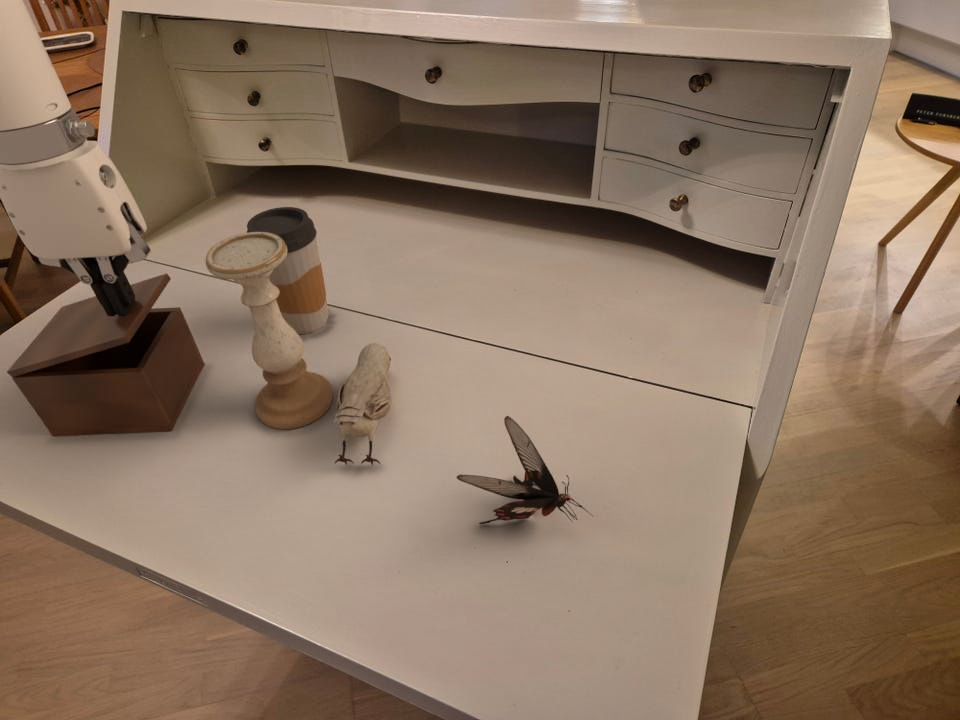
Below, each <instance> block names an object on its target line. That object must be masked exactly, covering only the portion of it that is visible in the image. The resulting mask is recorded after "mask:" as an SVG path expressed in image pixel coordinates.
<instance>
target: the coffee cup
mask: <svg viewBox="0 0 960 720" xmlns="http://www.w3.org/2000/svg"><path fill="white" fill-rule="evenodd" d="M248 232H268V233H273V234H275V235H278V236H279V237H281V238H282V239H283V240H284V242H285V244H286V245H287V250H288V251H287V256H286V258H285V260H284V261H283V262H282V263H281V264H280V265H279V266H277V267H276V268H274V269H273V271H272V273H271V274H270V282H271V283H272V284H274V285H275V286H276V287H278V289H279V291H280V293H279V296H278V298H277V299H276V300H277V304H278V306H279V309H280V312H281V314H282V316H283V318H284V320H285V321H286V322H287V323H288V324H289V325H290V326H291V327H292V328H293V329H294V330H295V331H296V332H297V333H298V335H305V334H310V333H313V332H316V331H318V330H320V329H321V328H323V327H324V326H325V325H326V324H327V322H328V317H329V315H330V312H329V311H330V310H329V307H328V300H327V291H326V284H325V279H324V273H323V266H322V262H321V259H320V253H319V246H318V241H317V232H318V231H317V229H316V227H315V223H314V221H313V219H312V218H311V217H309V214H308V212H307V211H305V210H304V209H302V208H299V207H294V206H281V207H274V208H270V209H266V210H263V211H260V212H259V213H256V214H255V215H254V216H252V217H251V218H249V220H248V221H247V223H246V233H248Z"/></svg>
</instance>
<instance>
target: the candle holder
mask: <svg viewBox="0 0 960 720" xmlns="http://www.w3.org/2000/svg"><path fill="white" fill-rule="evenodd" d="M287 251H288V250H287V245H286V244H285V242H284V240H283V239H282V238H281V237H279V236H278V235H275V234H273V233H268V232H248V233H247V232H243V233H238V234H235V235H231V236H230V237H227V238H224V239H223V240H220V241H218V242H217V243H216V244H214V245H213V246H212V247H211V248H210V249H209V250H208V252H207V253H206V256H205V267H206V269H207V270H208V272H209V273H210V274H211V275H212V276H215V277H216V278H219V279H221V280H232V281H233V282H235V283H239V284H240V285H241V286H242V292H241V295H240V302H241V304H242V305H244V306H246V307H248V308H249V311H250V314H251V318H252V320H253V326H254V328H253V330H254V331H253V336H252V342H251V356H252V359H253V361H254V363H255V364H256V365H257V366H258V367H259V368H260V369H262V377H263V379H264V381H265V382H266V384H265V385H264V386H263V387H262V389H260V390H259V392H258V394H257V395H256V398H255V399H254V400H255V401H254V409H255V412H256V415H257V417H258V418H259V420H260V421H261V422H262V423H263V424H265V425H267V426H268V427H271V428H275V429H278V430H279V429H280V430H290V429H297V428H301V427H304V426H307V425H309V424H312V423H313V422H315V421H317V420H318V419H320V418H321V417H322V416H323V415H324V414H325V413H326V412H328V409H329V408H330V406H331V404H332V402H333V398H334V393H333V392H334V391H333V387H332V385H331V382H330V381H329V380H328V379H327V378H326V377H325V376H323V375H321V374H320V373H317V372H312V371H308V370H307V367H308V365H307V362H306V361H305V359H304V358H303V356H304V353H305V345H304V341H303V339H302V338H301V336H300V334H298V333H297V332H296V331H295V330H294V329H293V328H292V327H291V326H290V325H289V324H288V323H287V322H286V321H285V320H284V318H283V316H282V314H281V312H280V309H279V306H278V304H277V300H276V299H277V298H278V296H279V293H280V291H279V289H278V287H276V286H275V285H274V284H272V283H271V282H270V274H271V273H272V271H273V269H274V268H276V267H277V266H279V265H280V264H281V263H282V262H283V261H284V260H285V258H286V256H287Z"/></svg>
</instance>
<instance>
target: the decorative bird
mask: <svg viewBox="0 0 960 720" xmlns="http://www.w3.org/2000/svg"><path fill="white" fill-rule="evenodd" d="M391 361H392V358H391V356H390V354H389V351H388V349H386V347H385V346H383V345H381V344H379V343H375V342H374V343H373V342H372V343H369V344H367V345H365V346H364V347H363V348H362V350H361V351H360V353H359V355H358V358H357V363H356V365H355V368H354V370H353V371H351V373H350V374H349V375H348V377H347V378H346V379H345V381H344V383H342V385H341V386H340V388H339V390H338V393H337V401H336V406H335V418H334V420H333V422H332V423H333V424H335V423H338V427H339V428H340V431H341V441H342V453H341V454H338V458H337V459H336V460H335V461H334V464H337V463H338V462H340V463H344V464H345V465H347V464H348V462H350V463H351V464H353V465H355V462H354V461H353V460H352V459H350V458H347V457H346V456H345V454H346V448H347V447H346V446H347V442H346V441H347V439H348V436H351V437H354V438H359V439H361V438H367V437H368V444H369V445H368V446H369V447H368V454H366V455H365V456H366V458H364V459H363V460H362V461H361V462H360V464H361V465H362V464H363V463H365V462H367V463H370V464H371V466H373V465H374V462H377V463H378V464H379V465H381V462H380V460H378V459H377V458H374V457H372V452H373V441H374V438H375V434H376V431H377V430H376V429H377V426H378V425H379V423H380V422H381V421H382V418H385V417H386V416H387V415H388V413H389V411H390V408H391V406H392V397H391V392H390V387H389V383H388V377H387V374H388V371H389V370H390V368H391Z"/></svg>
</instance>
